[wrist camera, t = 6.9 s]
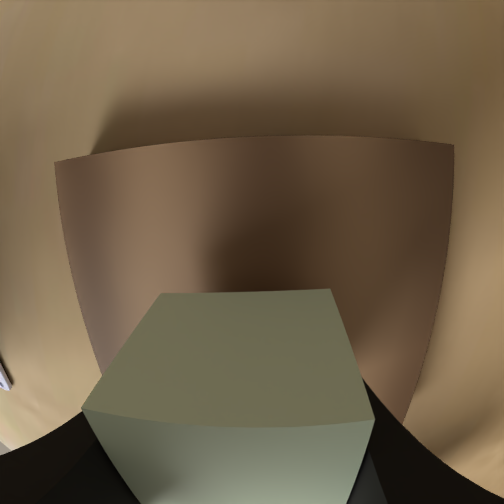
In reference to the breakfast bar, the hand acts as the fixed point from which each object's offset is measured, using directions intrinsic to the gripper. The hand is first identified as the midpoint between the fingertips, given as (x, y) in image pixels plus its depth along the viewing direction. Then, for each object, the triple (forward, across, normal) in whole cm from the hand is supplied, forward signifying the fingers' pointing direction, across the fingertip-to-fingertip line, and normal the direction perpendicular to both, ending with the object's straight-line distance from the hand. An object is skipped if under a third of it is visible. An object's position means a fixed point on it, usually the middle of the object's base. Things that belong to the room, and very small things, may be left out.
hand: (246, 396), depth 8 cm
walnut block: (+6, 0, 0) cm, 6 cm away
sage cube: (+2, 0, 0) cm, 2 cm away
